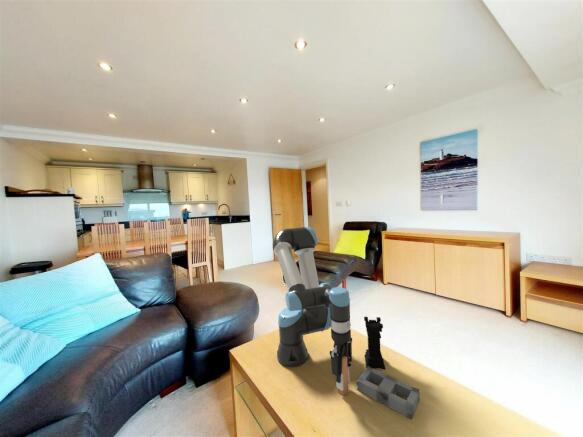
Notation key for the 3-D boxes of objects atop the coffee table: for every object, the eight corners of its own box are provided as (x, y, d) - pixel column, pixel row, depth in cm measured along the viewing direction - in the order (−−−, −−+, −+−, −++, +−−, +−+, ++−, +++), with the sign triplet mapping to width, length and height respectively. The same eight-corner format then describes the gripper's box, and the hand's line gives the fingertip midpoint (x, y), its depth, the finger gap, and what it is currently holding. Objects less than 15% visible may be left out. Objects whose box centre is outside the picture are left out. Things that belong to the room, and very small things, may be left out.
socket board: (357, 389, 93) (356, 380, 93) (368, 374, 101) (367, 366, 100) (411, 419, 80) (411, 408, 79) (419, 399, 87) (419, 389, 87)
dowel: (336, 391, 93) (334, 358, 92) (341, 385, 96) (340, 352, 95) (345, 396, 90) (343, 362, 89) (350, 390, 93) (349, 357, 92)
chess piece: (385, 369, 103) (384, 326, 102) (366, 367, 105) (364, 325, 103) (382, 357, 111) (380, 316, 109) (364, 356, 113) (363, 316, 111)
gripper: (337, 342, 82) (340, 404, 84) (359, 322, 95) (361, 376, 97) (320, 335, 87) (322, 393, 89) (343, 316, 100) (345, 368, 102)
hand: (343, 384), depth 93 cm, fingers closed on dowel, 4 cm apart
